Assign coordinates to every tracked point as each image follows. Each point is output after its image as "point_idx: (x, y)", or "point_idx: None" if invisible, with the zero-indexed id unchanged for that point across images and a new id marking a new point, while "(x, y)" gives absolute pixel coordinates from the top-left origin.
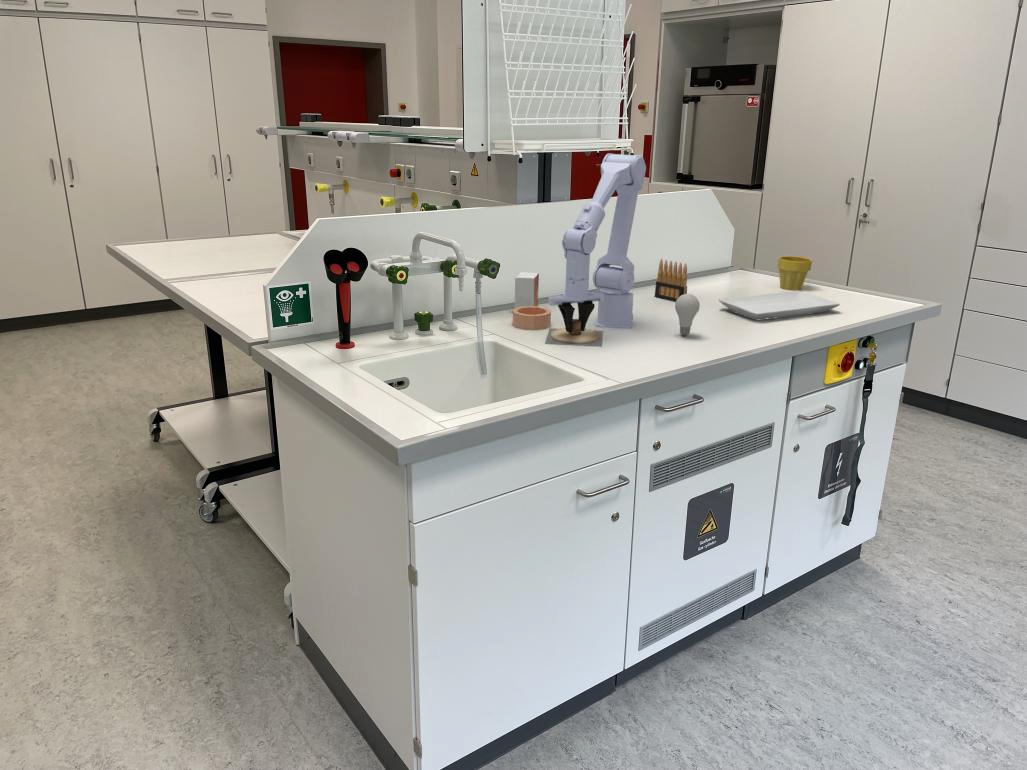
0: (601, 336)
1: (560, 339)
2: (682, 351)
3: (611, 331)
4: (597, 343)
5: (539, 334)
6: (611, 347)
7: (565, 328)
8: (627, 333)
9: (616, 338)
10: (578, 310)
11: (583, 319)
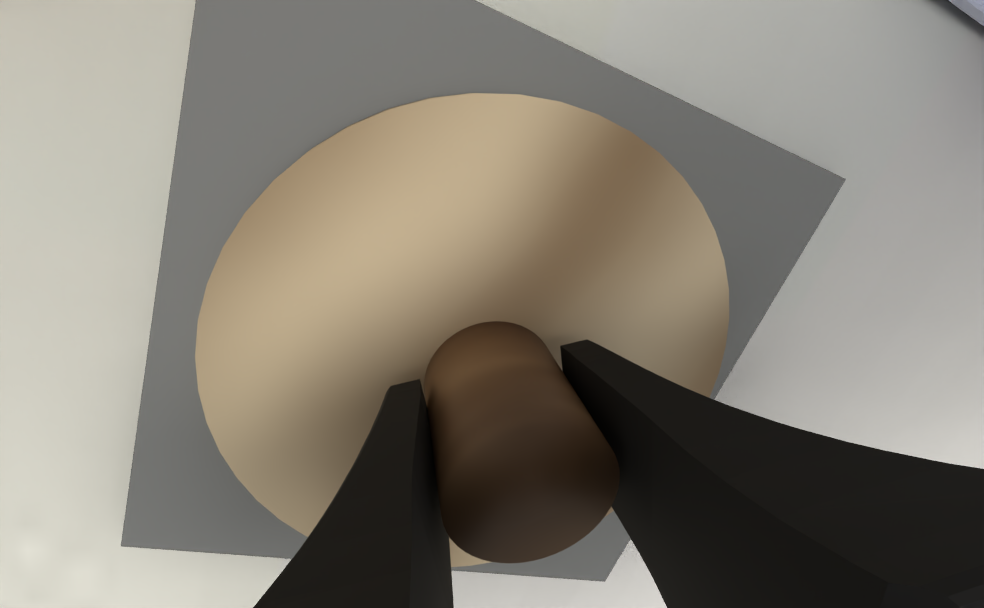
0: (726, 363)
1: (292, 519)
2: None
3: (913, 172)
4: (604, 528)
5: (38, 152)
6: None
7: (382, 402)
8: (977, 257)
9: (813, 382)
10: (710, 473)
11: (641, 539)
